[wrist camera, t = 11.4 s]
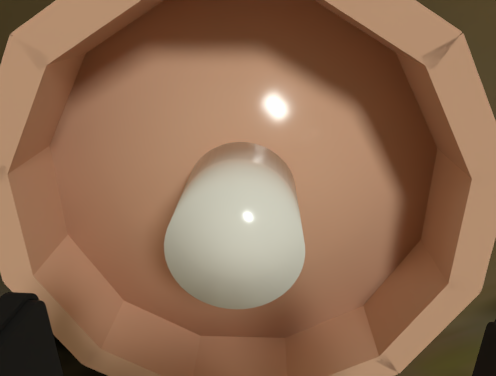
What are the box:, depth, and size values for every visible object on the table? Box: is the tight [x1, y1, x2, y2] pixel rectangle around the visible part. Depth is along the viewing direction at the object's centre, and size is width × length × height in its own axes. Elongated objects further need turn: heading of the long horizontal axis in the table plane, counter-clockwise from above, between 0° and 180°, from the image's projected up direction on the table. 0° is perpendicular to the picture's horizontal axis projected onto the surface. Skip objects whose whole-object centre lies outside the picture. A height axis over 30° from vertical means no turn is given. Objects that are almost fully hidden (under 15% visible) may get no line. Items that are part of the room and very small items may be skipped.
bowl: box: [0, 0, 496, 376], centre depth 16 cm, size 17×17×4 cm
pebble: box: [164, 142, 305, 309], centre depth 15 cm, size 4×4×4 cm
